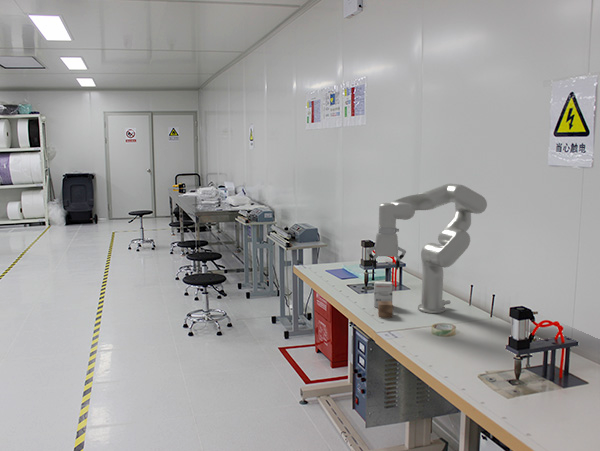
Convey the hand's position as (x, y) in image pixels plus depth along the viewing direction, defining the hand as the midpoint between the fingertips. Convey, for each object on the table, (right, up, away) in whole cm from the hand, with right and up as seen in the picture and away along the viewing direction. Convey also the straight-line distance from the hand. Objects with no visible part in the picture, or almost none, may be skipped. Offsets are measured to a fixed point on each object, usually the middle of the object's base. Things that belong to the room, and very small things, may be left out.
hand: (386, 268), depth 241 cm
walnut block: (0, -22, +3) cm, 22 cm away
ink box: (+1, -20, +18) cm, 27 cm away
